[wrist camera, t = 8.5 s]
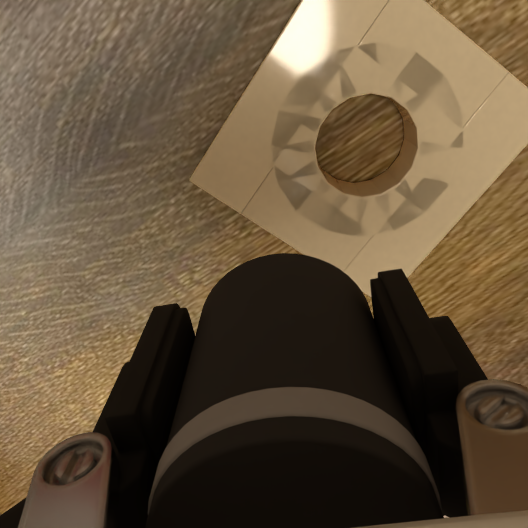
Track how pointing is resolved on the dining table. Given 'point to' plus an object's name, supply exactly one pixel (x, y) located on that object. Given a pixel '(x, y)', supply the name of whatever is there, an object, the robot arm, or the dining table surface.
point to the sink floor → (413, 148)
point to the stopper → (290, 411)
